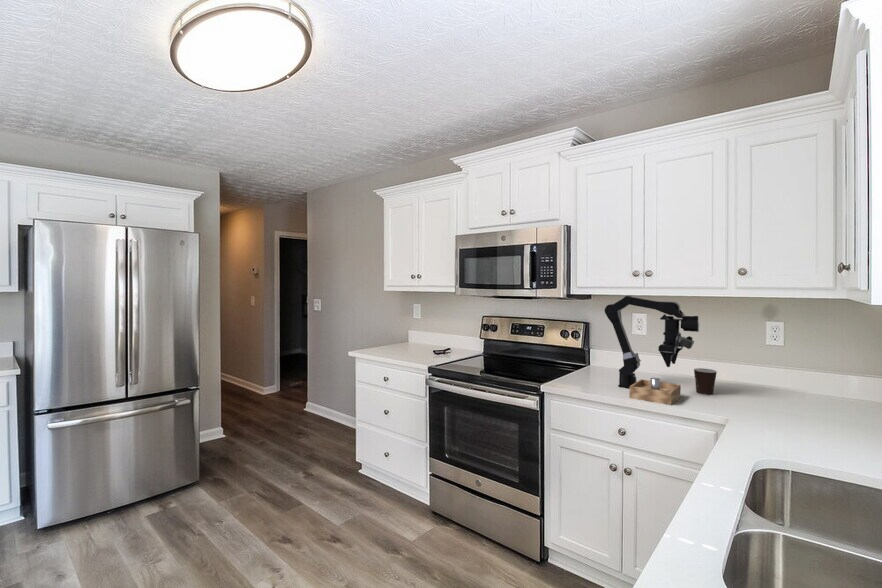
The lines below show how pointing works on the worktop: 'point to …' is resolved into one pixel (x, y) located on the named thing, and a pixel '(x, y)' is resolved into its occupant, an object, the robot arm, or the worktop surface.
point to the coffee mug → (705, 380)
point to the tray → (655, 392)
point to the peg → (655, 383)
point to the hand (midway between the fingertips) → (671, 365)
